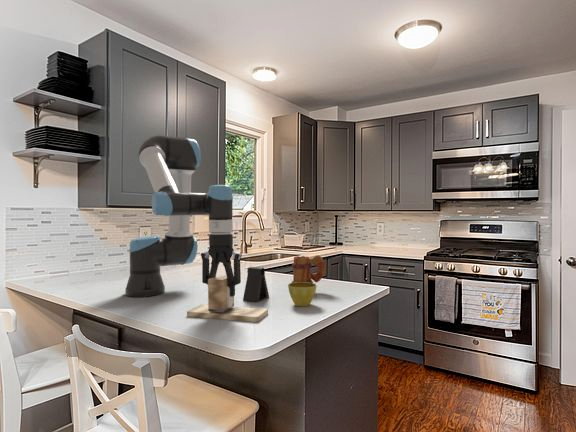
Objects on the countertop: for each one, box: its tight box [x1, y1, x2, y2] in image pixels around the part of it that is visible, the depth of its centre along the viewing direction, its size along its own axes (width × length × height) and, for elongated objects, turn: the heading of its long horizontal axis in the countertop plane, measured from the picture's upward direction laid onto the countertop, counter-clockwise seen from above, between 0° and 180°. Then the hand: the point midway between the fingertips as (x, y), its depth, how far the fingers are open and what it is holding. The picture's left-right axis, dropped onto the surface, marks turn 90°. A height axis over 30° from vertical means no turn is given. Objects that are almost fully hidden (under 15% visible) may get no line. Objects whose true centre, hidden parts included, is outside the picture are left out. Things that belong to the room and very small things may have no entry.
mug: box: [290, 254, 326, 283], centre depth 148 cm, size 15×8×15 cm, turn 68°
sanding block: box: [207, 274, 235, 312], centre depth 114 cm, size 5×8×10 cm, turn 163°
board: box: [186, 304, 269, 323], centre depth 114 cm, size 24×9×2 cm, turn 74°
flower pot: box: [287, 282, 317, 307], centre depth 126 cm, size 10×10×7 cm
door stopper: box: [242, 266, 270, 303], centre depth 135 cm, size 9×6×12 cm, turn 152°
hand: (221, 305), depth 114 cm, fingers closed on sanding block, 5 cm apart
